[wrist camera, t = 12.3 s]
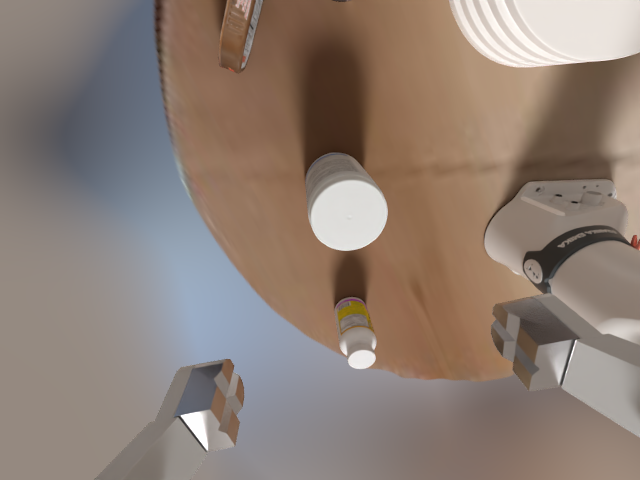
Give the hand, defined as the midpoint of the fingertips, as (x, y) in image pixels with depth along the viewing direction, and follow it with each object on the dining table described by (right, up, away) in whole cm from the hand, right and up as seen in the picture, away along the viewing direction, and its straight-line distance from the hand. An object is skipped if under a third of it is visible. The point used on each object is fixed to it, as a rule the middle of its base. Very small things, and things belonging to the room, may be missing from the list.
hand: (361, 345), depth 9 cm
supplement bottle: (+5, -11, +51) cm, 52 cm away
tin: (-10, +32, +27) cm, 43 cm away
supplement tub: (+1, +13, +38) cm, 40 cm away
